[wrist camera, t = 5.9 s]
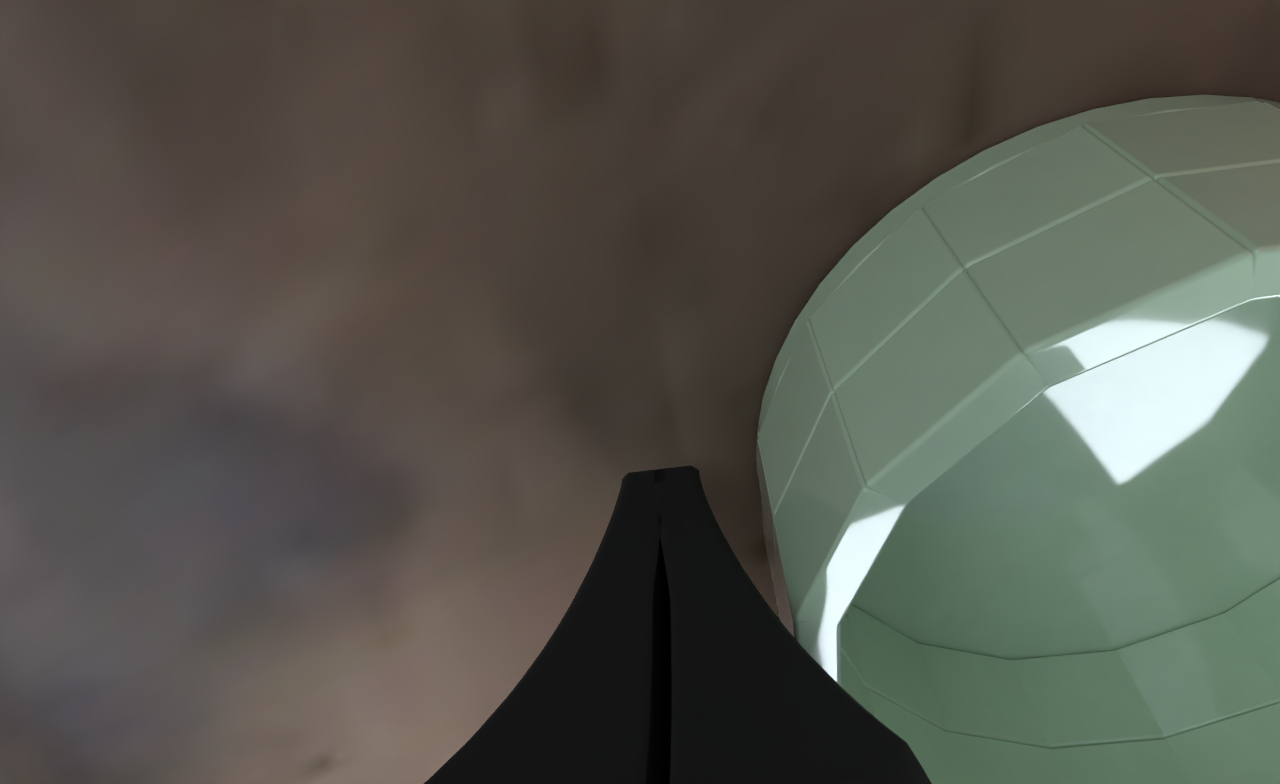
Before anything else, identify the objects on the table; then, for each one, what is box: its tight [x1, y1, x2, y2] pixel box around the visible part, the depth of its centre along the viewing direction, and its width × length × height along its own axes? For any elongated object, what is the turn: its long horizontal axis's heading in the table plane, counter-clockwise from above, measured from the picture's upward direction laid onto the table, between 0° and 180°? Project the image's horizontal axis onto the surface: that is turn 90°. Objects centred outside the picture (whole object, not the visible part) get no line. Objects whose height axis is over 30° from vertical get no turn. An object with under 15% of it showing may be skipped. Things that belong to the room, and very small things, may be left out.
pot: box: [756, 95, 1280, 784], centre depth 13 cm, size 11×11×4 cm
